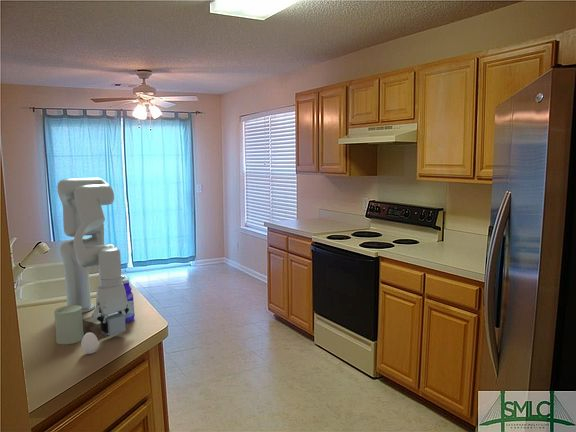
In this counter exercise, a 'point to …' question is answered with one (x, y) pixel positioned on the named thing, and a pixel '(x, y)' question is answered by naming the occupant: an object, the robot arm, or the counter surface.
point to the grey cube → (115, 323)
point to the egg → (89, 343)
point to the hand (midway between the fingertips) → (113, 329)
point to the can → (69, 324)
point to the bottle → (129, 296)
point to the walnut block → (92, 326)
